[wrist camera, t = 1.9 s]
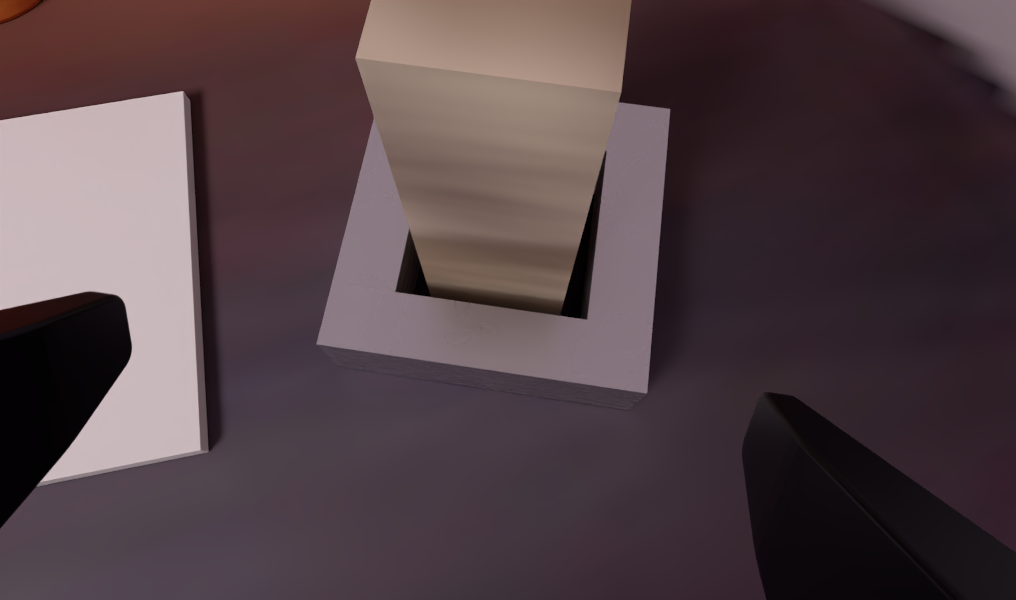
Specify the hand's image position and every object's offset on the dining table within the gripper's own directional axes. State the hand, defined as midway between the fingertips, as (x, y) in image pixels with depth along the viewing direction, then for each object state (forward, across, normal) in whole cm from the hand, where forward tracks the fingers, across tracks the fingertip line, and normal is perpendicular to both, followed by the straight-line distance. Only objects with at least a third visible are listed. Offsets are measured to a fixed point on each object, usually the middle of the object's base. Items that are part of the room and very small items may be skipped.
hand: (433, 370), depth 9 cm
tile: (+12, +16, +7) cm, 21 cm away
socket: (+14, 0, +4) cm, 15 cm away
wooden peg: (+14, 0, +4) cm, 15 cm away
